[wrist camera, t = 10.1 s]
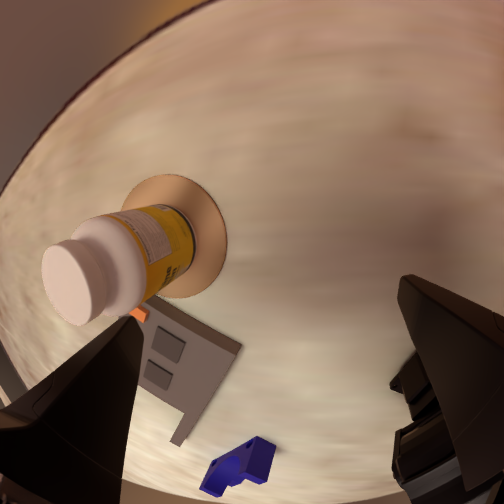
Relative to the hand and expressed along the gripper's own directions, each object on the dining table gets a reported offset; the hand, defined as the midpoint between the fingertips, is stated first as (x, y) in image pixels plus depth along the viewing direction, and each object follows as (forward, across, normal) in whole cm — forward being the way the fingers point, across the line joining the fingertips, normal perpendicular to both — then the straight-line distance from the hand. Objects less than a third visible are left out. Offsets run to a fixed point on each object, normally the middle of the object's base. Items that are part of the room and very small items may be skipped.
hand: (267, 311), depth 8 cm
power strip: (+12, +14, +18) cm, 26 cm away
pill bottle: (+14, +8, +3) cm, 17 cm away
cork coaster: (+15, +8, +3) cm, 17 cm away
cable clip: (+7, +7, +32) cm, 34 cm away
